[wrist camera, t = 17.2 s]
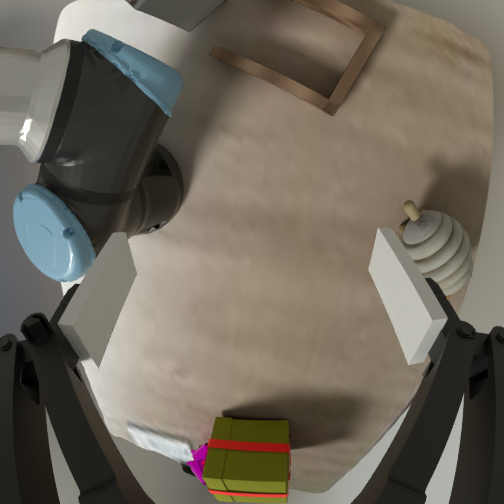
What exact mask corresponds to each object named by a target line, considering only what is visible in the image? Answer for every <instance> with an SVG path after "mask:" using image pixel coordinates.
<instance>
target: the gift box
mask: <svg viewBox="0 0 504 504" xmlns="http://www.w3.org/2000/svg"><path fill="white" fill-rule="evenodd" d="M289 438H290V439H291V435H290V434H289V421H288V420H235V419H233V418H225V417H216V418H215V423H214V427H213V431H212V436H211V439H209V441H208V443H205V444H203V445H200V446H199V448H198V449H196V450H191V453H192V454H193V459H194V460H193V461H189V462H187V464H188V465H190V466H191V470H192V471H193V472H194V474H195V475H196V476H197V477H198V478H199V480H200V481H201V482H202V483H203V484H204V485H207V486H208V489H209V491H210V493H213V494H214V496H215V497H216V499H217V500H218V501H226V502H234V501H239V502H254V503H287V496H288V489H289V488H288V480H290V472H291V469H290V466H291V455H290V450H291V442H290V445H289ZM289 457H290V466H289Z"/></svg>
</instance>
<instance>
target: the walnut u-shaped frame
mask: <svg viewBox="0 0 504 504" xmlns="http://www.w3.org/2000/svg"><path fill="white" fill-rule="evenodd" d="M292 1H295V2H297V3H300V4H302V5H304V6H307V7H309V8H311V9H313V10H315V11H317V12H320V13H322V14H324V15H326V16H328V17H330V18H332V19H334V20H336V21H338V22H340V23H342V24H344V25H345V26H347V27H349V28H351V29H353V30H355V31H356V32H358V33H360V34H362V35H363V36H365V38H364V39H363V41H362V43H361V44H360V46H359V48H358V49H357V51H356V53H355V54H354V56H353V58H352V60H351V61H350V63H349V65H348V66H347V68H346V70H345V71H344V73H343V75H342V76H341V78H340V80H339V82H338V83H337V85H336V87H335V88H334V90H333V92H332V93H331V95H330V97H329V99H327V98H325V97H323V96H322V95H320V94H318V93H316V92H314V91H313V90H311V89H309V88H307V87H305V86H303V85H301V84H299V83H297V82H296V81H294V80H292V79H290V78H288V77H286V76H284V75H282V74H280V73H278V72H275V71H273V70H271V69H269V68H267V67H265V66H263V65H260V64H258V63H256V62H254V61H251V60H249V59H247V58H245V57H242V56H240V55H237V54H235V53H232V52H230V51H227V50H225V49H222V48H220V47H217V46H215V45H214V47H213V48H212V50H211V52H210V54H209V55H210V56H212V57H213V58H215V59H217V60H219V61H222V62H224V63H227V64H229V65H231V66H234V67H236V68H238V69H241V70H243V71H245V72H247V73H250V74H252V75H254V76H256V77H258V78H260V79H263V80H265V81H267V82H269V83H271V84H273V85H275V86H277V87H279V88H281V89H283V90H285V91H287V92H289V93H291V94H293V95H295V96H296V97H298V98H300V99H302V100H304V101H306V102H308V103H309V104H311V105H313V106H315V107H317V108H318V109H320V110H322V111H324V112H325V113H327V114H329V115H330V116H334V114H335V113H336V111H337V109H338V108H339V106H340V104H341V103H342V101H343V99H344V98H345V96H346V94H347V92H348V91H349V89H350V87H351V86H352V84H353V82H354V81H355V79H356V77H357V75H358V74H359V72H360V70H361V69H362V67H363V65H364V64H365V62H366V60H367V59H368V57H369V55H370V53H371V52H372V50H373V48H374V47H375V45H376V43H377V42H378V40H379V38H380V36H381V35H382V33H383V31H384V30H385V28H386V27H384V26H383V25H381V24H379V23H378V22H376V21H374V20H373V19H371V18H369V17H367V16H366V15H364V14H362V13H360V12H358V11H357V10H355V9H353V8H351V7H349V6H347V5H345V4H343V3H341V2H339V1H337V0H292Z"/></svg>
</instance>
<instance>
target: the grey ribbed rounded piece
mask: <svg viewBox="0 0 504 504" xmlns="http://www.w3.org/2000/svg"><path fill="white" fill-rule="evenodd" d="M403 207H404V209H405V211H406V212H407V214H408V216H409V217H410V220H409V222H408V223H407V225H406V226H405V225H401V226H400V227H399V231H400V233H401V234H402V235H403V236H402V239H401V243H402V244H403V246H404V247H405V249H406V250H407V252H408V253H409V255H410V256H411V258H412V259H413V261H414V263H415V264H416V266H417V267H418V269H419V270H420V272H421V274H422V275H423V277H424V278H429V277H431V278H432V279H433V280H434V281H435V282H436V283H438V285H439V286H440V288H441V289H442V291H443V293H444V294H445V296H446V297H447V299H449V297H450V296H451V294H455V293H458V292H460V291H461V290H462V289H463V287H464V286H465V284H466V283H467V282H468V280H469V279H470V278H471V277H472V271H473V261H472V248H471V246H470V240H469V236H468V234H467V232H466V231H465V230H464V229H463V228H462V227H461V225H460V223H459V222H458V221H457V220H456V219H454V218H452V217H449V216H448V215H447V214H445V213H443V212H438V211H435V210H426V209H424V208H422V209H420V211H418V209H417V207H416V206H415V204H414V202H413V201H411V200H408V201H406V202H405V203H404V205H403Z"/></svg>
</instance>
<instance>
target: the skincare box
mask: <svg viewBox="0 0 504 504" xmlns="http://www.w3.org/2000/svg"><path fill="white" fill-rule="evenodd" d="M125 1H126V2H128V3H129V4H130V5H131V6H132V7H133V8H134V9H136V10H138V11H141V12H144V13H147V14H149V15H152V16H154V17H157V18H159V19H161V20H164V21H166V22H168V23H171V24H173V25H175V26H177V27H179V28H181V29H184V30H186V31H188V32H190V31H191V30H192V29H193V28H194V27H195V26H196V25H198V24H199V23H200V22H201V21H202V20H203V19H204V18H205V17H206V16H208V15H209V14H210V13H211V12H212V11H213V10H215V9H216V8H217V7H218V6H219V5H220V4H222V3H223V2H224V1H225V0H125Z"/></svg>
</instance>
